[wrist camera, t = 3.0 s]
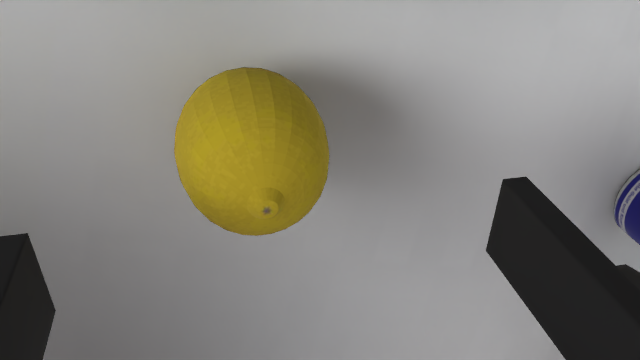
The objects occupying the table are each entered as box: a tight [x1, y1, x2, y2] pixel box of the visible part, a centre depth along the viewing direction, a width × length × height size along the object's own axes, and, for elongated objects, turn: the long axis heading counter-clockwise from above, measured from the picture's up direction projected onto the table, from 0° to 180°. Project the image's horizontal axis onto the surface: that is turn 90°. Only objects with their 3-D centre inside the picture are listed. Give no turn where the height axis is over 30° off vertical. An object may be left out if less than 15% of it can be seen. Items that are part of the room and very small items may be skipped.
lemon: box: [174, 67, 329, 236], centre depth 20 cm, size 6×6×8 cm
